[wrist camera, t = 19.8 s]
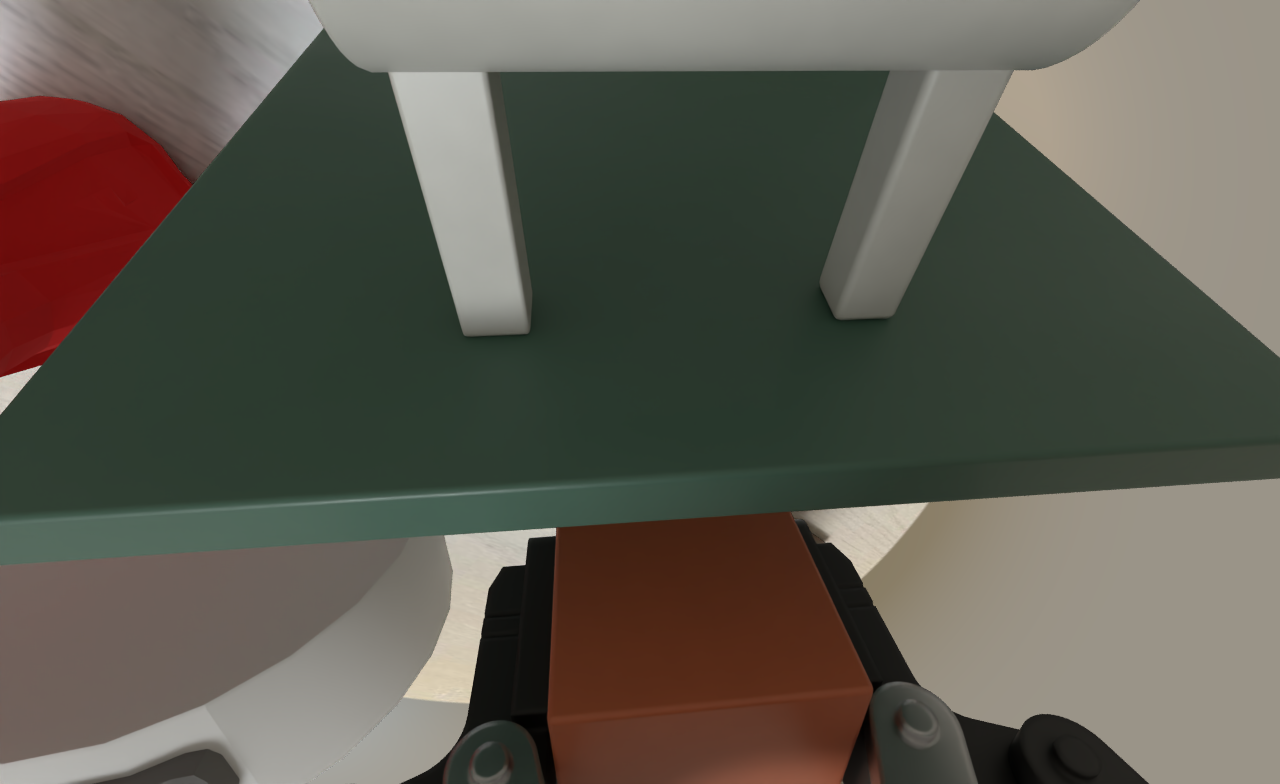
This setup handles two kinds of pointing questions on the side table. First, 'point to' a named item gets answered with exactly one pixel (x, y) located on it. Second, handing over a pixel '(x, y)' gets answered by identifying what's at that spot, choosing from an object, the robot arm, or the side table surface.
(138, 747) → the alarm clock
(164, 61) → the side table surface
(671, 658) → the block
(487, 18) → the bin lid
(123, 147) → the water bottle
